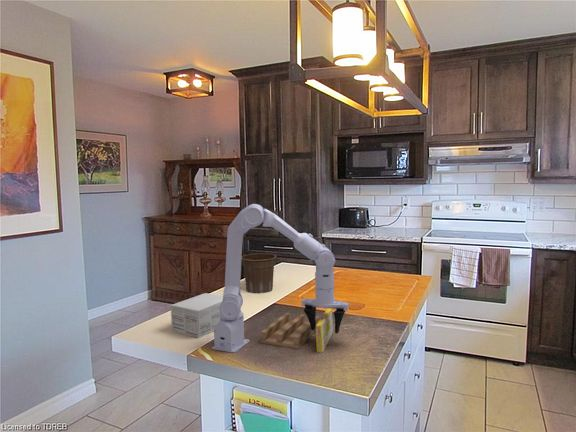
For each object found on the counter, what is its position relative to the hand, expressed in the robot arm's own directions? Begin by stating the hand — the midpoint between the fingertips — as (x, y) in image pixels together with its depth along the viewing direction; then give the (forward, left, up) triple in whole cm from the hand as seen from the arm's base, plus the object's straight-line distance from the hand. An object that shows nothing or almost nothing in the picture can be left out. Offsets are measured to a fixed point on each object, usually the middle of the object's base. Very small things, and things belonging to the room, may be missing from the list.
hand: (325, 330), depth 124 cm
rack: (+2, +12, -3) cm, 13 cm away
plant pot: (+47, +47, -4) cm, 67 cm away
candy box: (0, 0, -4) cm, 4 cm away
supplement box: (-2, +44, -4) cm, 44 cm away
